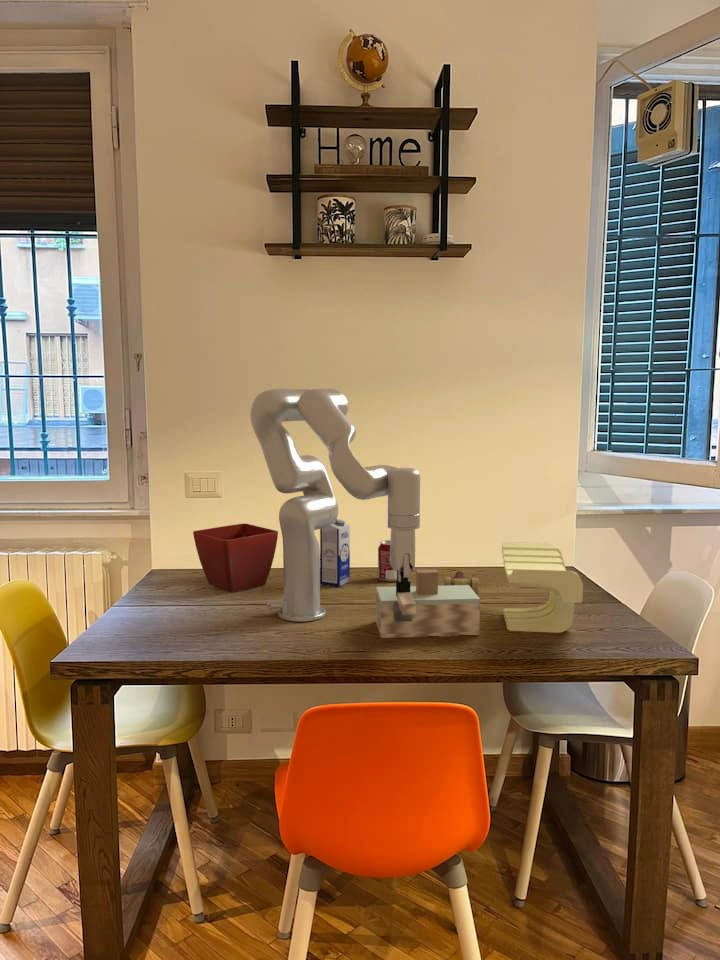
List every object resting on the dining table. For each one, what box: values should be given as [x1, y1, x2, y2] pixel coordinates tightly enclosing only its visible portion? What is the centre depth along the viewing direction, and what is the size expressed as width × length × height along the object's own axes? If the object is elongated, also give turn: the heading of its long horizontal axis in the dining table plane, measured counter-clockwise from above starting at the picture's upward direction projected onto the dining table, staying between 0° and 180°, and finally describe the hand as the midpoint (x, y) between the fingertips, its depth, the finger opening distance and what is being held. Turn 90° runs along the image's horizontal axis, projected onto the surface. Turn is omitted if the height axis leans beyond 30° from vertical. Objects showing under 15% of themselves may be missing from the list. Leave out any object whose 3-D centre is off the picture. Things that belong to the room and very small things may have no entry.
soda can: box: [377, 539, 397, 582], centre depth 221 cm, size 7×7×12 cm
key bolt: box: [397, 592, 416, 615], centre depth 162 cm, size 3×9×2 cm, turn 4°
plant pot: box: [192, 523, 279, 593], centre depth 214 cm, size 19×19×17 cm
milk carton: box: [319, 518, 351, 588], centre depth 217 cm, size 7×7×20 cm
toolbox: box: [375, 591, 481, 639], centre depth 175 cm, size 24×15×9 cm, turn 94°
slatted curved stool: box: [501, 541, 584, 634], centre depth 180 cm, size 30×16×18 cm, turn 174°
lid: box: [375, 568, 481, 606], centre depth 175 cm, size 24×12×7 cm, turn 94°
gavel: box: [443, 570, 480, 594], centre depth 217 cm, size 21×5×10 cm
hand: (403, 596), depth 168 cm, fingers closed
